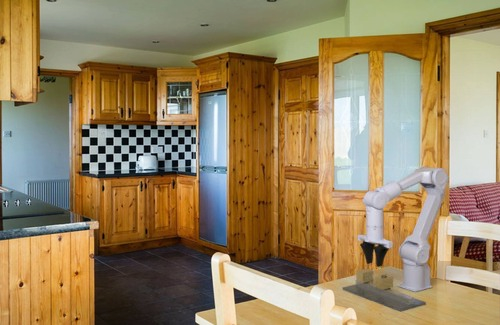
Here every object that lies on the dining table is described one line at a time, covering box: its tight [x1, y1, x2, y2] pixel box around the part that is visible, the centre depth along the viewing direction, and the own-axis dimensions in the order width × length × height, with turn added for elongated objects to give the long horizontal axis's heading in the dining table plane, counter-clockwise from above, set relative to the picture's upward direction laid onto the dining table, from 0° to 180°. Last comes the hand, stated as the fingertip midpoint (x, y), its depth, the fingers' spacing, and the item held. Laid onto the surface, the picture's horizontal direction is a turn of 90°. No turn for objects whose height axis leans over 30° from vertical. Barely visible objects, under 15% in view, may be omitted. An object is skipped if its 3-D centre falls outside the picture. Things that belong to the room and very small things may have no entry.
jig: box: [342, 268, 426, 312], centre depth 163 cm, size 12×26×7 cm, turn 32°
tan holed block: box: [374, 274, 394, 290], centre depth 164 cm, size 6×3×6 cm, turn 122°
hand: (374, 264), depth 167 cm, fingers open, 4 cm apart
